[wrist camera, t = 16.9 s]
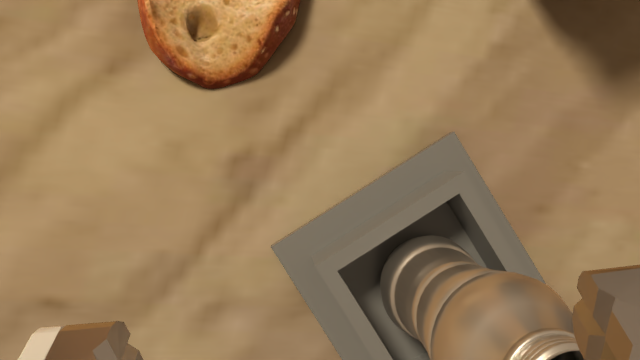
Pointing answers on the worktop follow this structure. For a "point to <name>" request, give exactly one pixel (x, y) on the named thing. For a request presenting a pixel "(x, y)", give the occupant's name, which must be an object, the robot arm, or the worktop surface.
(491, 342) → the plastic bottle
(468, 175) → the holder
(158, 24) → the slice of bread
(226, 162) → the worktop surface
